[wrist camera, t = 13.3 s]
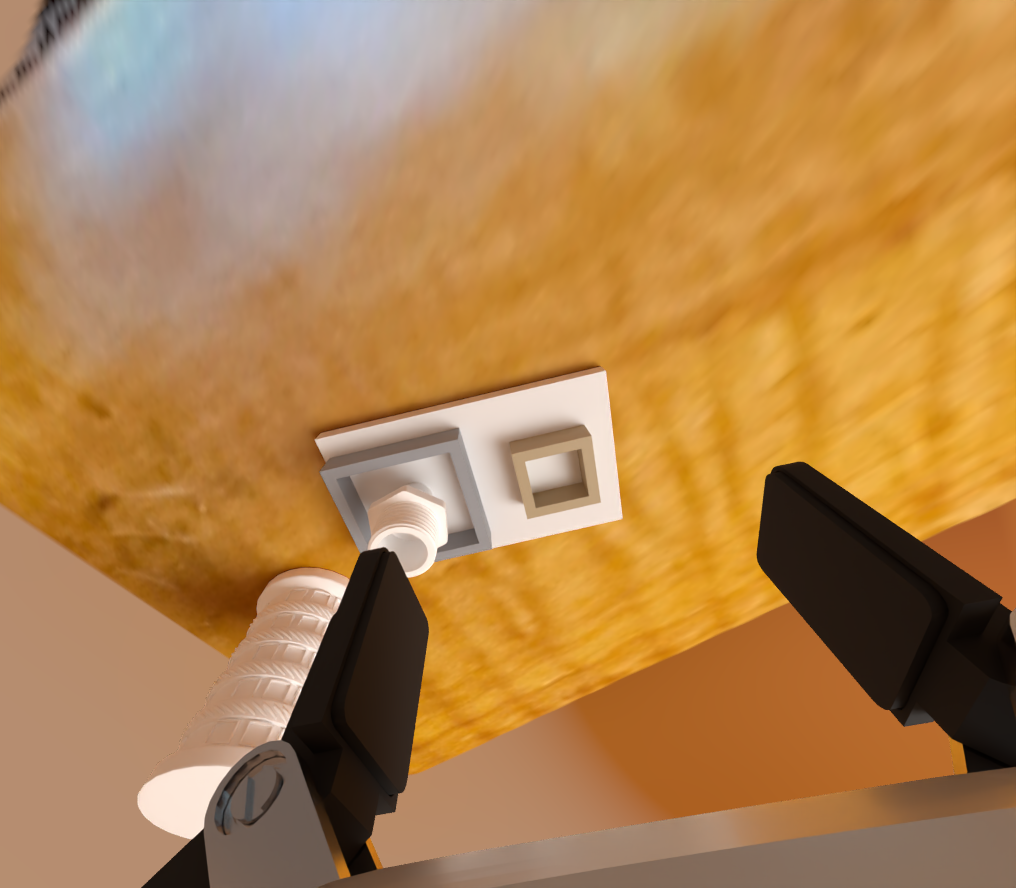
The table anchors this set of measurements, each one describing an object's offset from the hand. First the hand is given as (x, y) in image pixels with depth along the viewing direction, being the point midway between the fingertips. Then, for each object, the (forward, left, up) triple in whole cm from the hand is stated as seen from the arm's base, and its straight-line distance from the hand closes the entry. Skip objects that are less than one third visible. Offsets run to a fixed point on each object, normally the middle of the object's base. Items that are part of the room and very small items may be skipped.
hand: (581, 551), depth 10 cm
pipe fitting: (+11, -12, -25) cm, 29 cm away
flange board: (+11, -5, -26) cm, 29 cm away
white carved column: (+23, -28, -26) cm, 45 cm away
